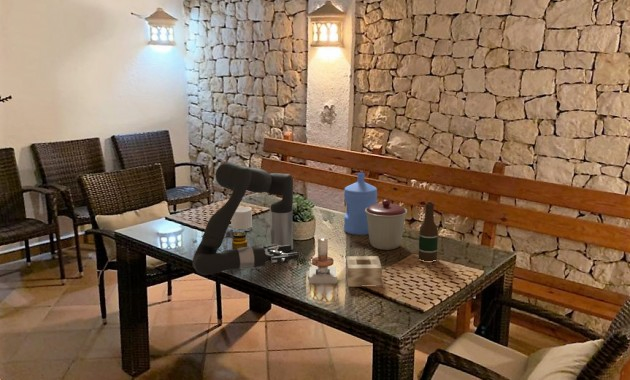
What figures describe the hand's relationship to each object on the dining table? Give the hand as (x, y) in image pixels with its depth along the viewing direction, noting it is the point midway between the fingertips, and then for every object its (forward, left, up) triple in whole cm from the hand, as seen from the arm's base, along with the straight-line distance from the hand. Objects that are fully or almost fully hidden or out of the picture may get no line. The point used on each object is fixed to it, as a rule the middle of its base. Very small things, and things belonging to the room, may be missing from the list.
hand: (294, 251), depth 193 cm
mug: (-27, +66, -12) cm, 73 cm away
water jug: (+29, +62, -12) cm, 69 cm away
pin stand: (+10, +4, -12) cm, 16 cm away
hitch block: (+25, +2, -12) cm, 28 cm away
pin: (+10, +4, -12) cm, 16 cm away
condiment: (-24, +22, -12) cm, 34 cm away
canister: (+38, +39, -12) cm, 56 cm away
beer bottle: (+53, +22, -12) cm, 59 cm away
